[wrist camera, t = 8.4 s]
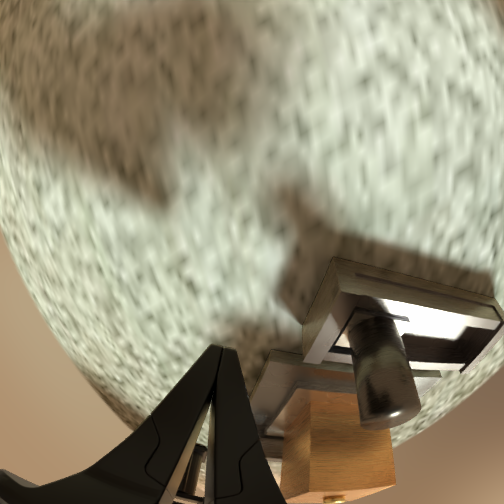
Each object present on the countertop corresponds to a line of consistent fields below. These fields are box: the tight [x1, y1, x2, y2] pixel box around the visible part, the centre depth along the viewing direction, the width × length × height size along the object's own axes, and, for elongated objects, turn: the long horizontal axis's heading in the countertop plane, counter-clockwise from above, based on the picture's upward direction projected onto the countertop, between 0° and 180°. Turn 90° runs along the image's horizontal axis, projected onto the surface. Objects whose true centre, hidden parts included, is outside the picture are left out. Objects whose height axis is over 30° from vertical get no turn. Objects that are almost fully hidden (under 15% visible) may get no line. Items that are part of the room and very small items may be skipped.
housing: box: [280, 401, 396, 504], centre depth 14 cm, size 6×6×6 cm
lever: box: [335, 307, 421, 430], centre depth 10 cm, size 2×3×5 cm
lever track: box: [302, 257, 504, 374], centre depth 12 cm, size 4×11×2 cm, turn 78°
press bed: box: [249, 349, 442, 462], centre depth 16 cm, size 11×12×3 cm
